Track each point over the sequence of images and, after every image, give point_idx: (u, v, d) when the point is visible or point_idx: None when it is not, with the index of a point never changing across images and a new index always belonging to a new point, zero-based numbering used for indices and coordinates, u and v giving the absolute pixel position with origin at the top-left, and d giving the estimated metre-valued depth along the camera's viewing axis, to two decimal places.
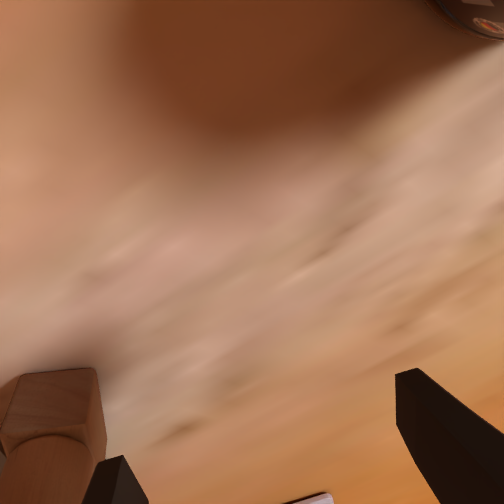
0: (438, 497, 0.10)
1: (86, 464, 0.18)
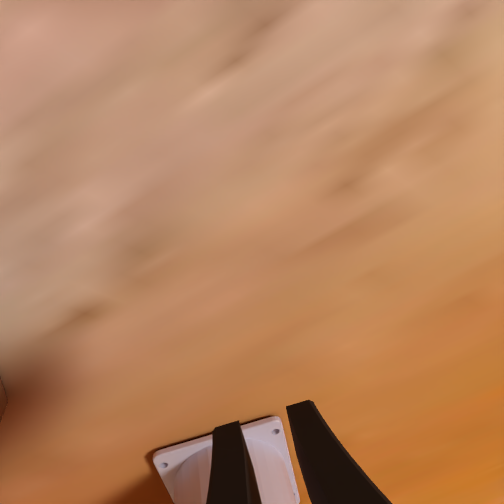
0: None
1: None
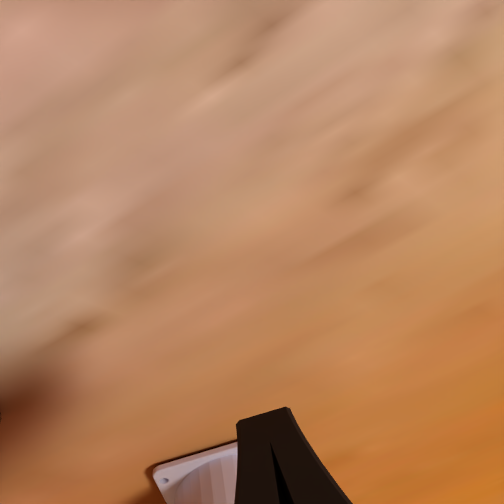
0: None
1: None
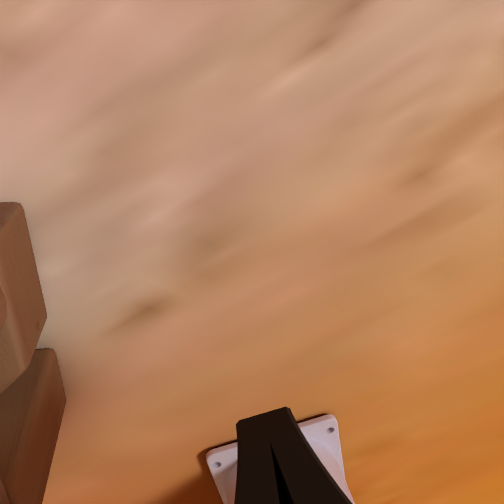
0: None
1: None
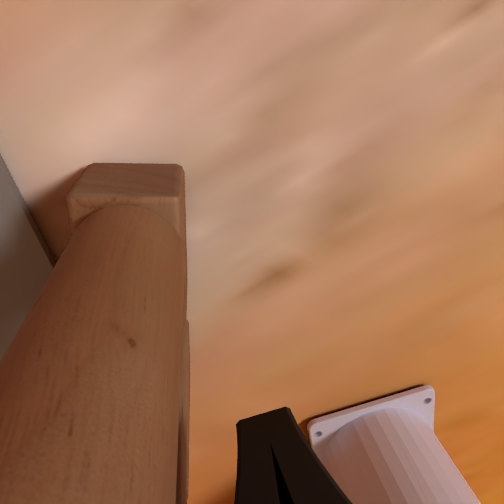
0: None
1: (179, 248, 0.13)
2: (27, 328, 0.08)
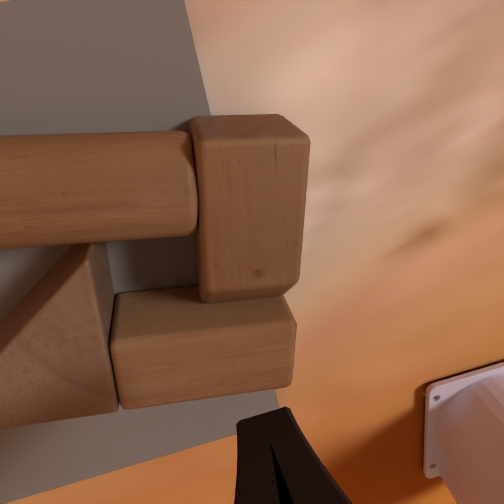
0: None
1: (166, 184, 0.13)
2: None
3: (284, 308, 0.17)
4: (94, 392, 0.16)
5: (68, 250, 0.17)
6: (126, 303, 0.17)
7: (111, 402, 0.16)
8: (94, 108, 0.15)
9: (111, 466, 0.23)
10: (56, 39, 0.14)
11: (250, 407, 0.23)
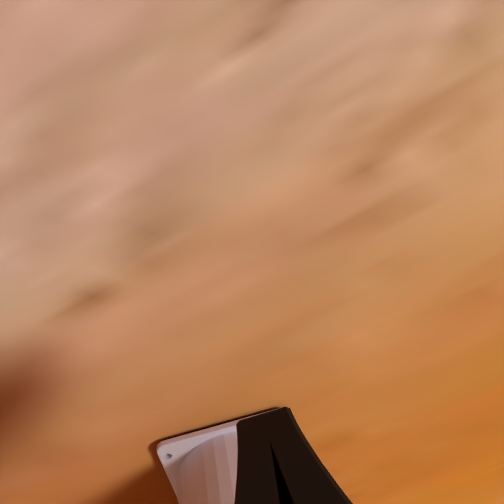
0: None
1: None
2: None
3: None
4: None
5: None
6: None
7: None
8: None
9: None
10: None
11: None
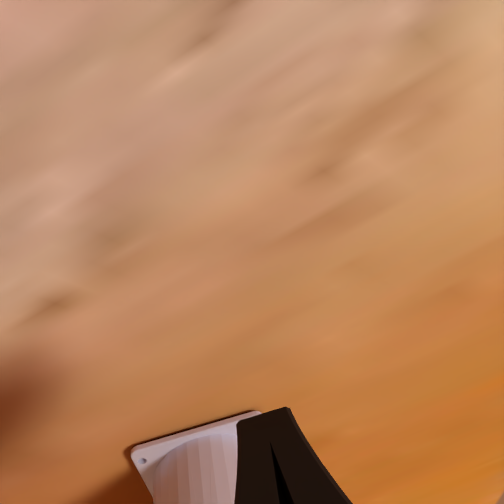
0: None
1: None
2: None
3: None
4: None
5: None
6: None
7: None
8: None
9: None
10: None
11: None
